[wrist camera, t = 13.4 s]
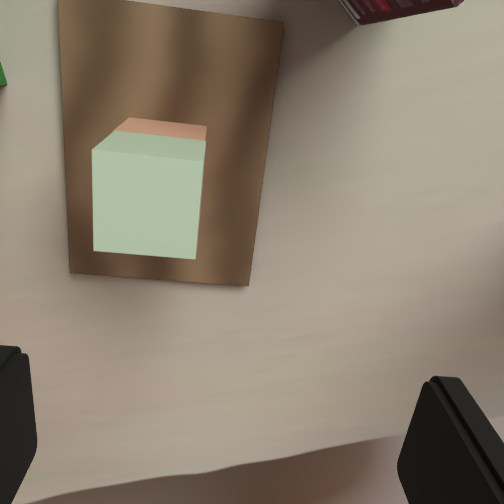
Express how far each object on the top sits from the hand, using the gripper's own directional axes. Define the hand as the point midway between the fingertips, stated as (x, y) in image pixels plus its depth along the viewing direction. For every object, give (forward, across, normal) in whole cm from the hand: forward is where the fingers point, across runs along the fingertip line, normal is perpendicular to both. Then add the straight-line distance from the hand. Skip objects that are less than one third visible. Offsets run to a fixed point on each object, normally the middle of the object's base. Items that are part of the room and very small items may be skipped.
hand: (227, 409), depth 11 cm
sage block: (+23, +5, +1) cm, 23 cm away
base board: (+30, +5, +1) cm, 30 cm away
